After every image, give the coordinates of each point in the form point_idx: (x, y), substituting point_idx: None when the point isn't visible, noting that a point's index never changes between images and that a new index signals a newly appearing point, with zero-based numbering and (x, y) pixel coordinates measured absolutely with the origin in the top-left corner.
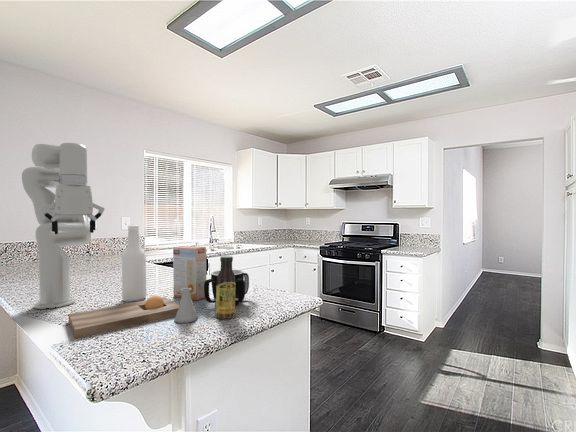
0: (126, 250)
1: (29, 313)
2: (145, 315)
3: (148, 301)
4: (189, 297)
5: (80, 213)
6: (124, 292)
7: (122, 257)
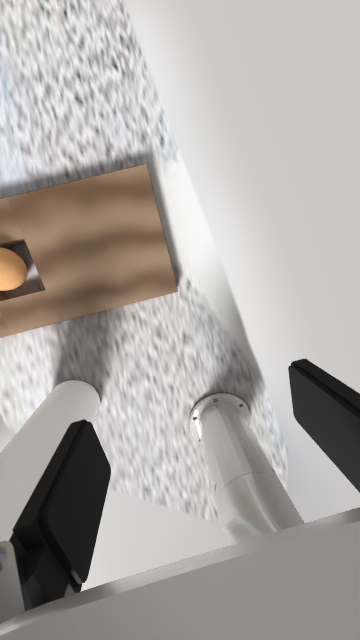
0: None
1: (248, 377)
2: (14, 196)
3: (6, 257)
4: None
5: (128, 619)
6: (88, 397)
7: None
